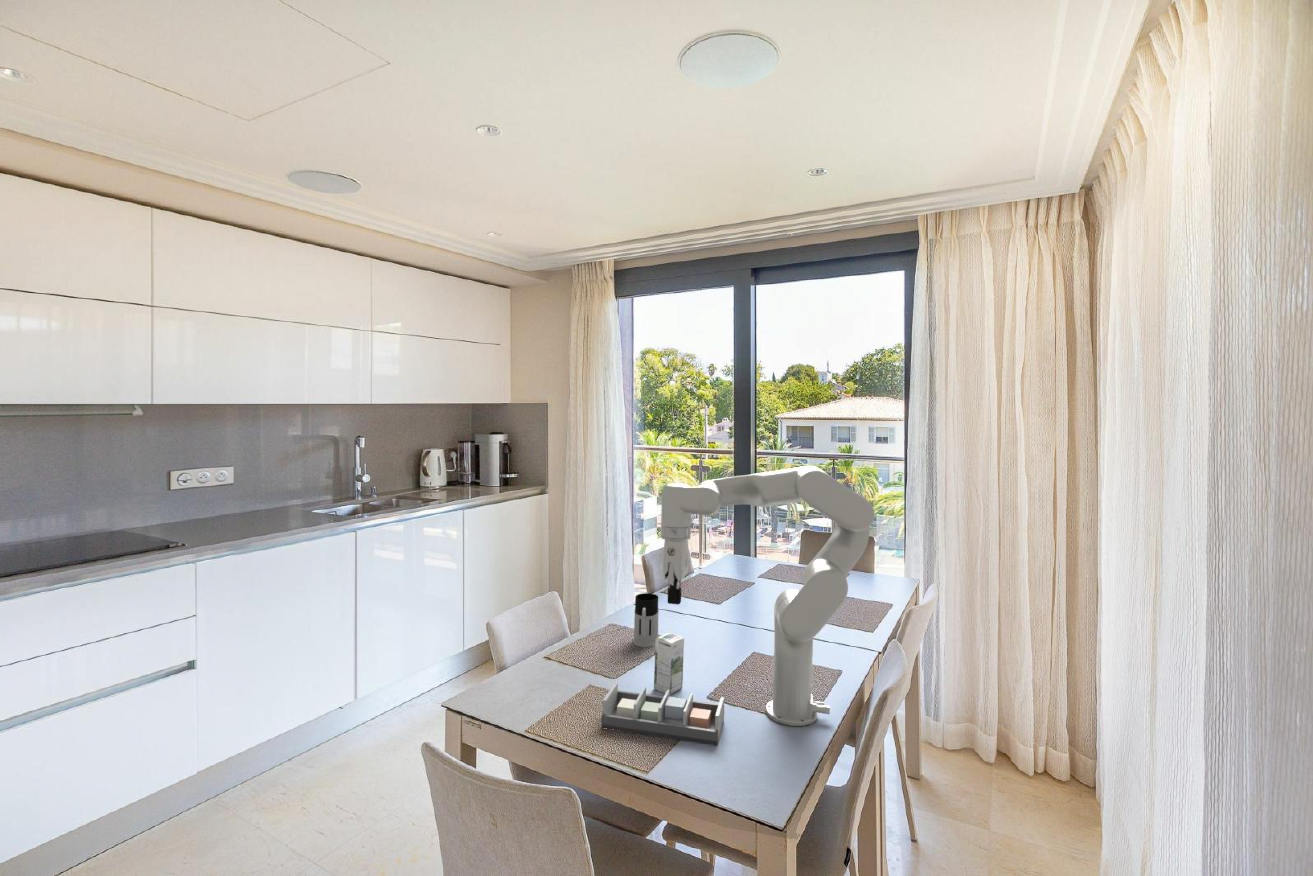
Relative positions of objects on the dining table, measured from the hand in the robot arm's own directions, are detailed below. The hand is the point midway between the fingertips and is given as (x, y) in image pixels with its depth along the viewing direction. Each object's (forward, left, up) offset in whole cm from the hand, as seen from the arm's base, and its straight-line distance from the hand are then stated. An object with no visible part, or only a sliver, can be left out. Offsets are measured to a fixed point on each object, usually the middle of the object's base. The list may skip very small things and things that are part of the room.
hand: (674, 602), depth 159 cm
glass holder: (+17, -37, -27) cm, 49 cm away
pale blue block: (-3, +10, -24) cm, 26 cm away
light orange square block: (-9, +10, -26) cm, 29 cm away
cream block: (+9, +10, -26) cm, 29 cm away
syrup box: (+3, -9, -27) cm, 29 cm away
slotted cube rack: (0, +10, -27) cm, 29 cm away
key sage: (+3, +10, -26) cm, 28 cm away
